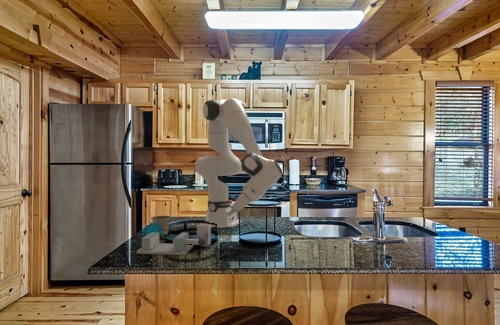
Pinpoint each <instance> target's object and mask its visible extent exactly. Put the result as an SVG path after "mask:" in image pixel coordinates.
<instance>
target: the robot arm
mask: <svg viewBox="0 0 500 325" xmlns="http://www.w3.org/2000/svg"><path fill="white" fill-rule="evenodd" d="M245 109H246V108H245V104H244V102H243V101H242V100H241V99H238V98H233V97H231V98H223V99H222V98H221V99H208V100H206V101H205V102H204V103H203V106H202V113H203V117H204V118H205V119H206V120H207V121H208V123H207V144H208V147H209V148H210V149H211V150H213V151H215V152H217V153H218V154H219V156H218V155H217V156H216V155H211V156H210V155H209V156H208V155H206V156H202V157H198V158H197V160H196V162H195V164H194V165H195V166H194V168H195V171H196V173H197V174H198V175H200V177H202V179H204V181H205V183H206V185H207V192H208V200H207V210H206V217H205V222H206V221H207V222H209V223H215V224H217V228H216V229H221V228H223V229H225V228H233V227H235V226H237V225H239V224H240V223H242V220H240V219H238V212H240V211H242V210H243V209H244V208H245V207H247V206H248V205H249V204H250V203H253V202H258V201H259V200H260V199H261V198H262V197H263V196H264V195H265V194H266V192H267V191H268V189H270V188H272V187H273V186H274V185H275V184H276V183H277V182H278V181H279V180H280V178H281V177H282V175H283V170H282V167H281V166H280V164H279V163H278V162H277V161H276V160H275V159H268V158H266V157H264V156H263V153H262V152H261V149H260V146H259V144H258V142H257V140H256V137H255V135H254V132H253V129H252V125H251V123H250V119H249V117H248V114H247V111H246V110H245ZM229 133H230V134H231V136H233V138H234V139H236V140H237V141H238V142H239V143H240V144H241V145H242V146H243V148H244V149H245V151H246V153H247V154H245V155H243V158H242V159H240V158H239V157H238V156H236V155H235V154H234V152H233V151H232V150H231V147H230V142H229ZM241 170H243V172H244V173H246V175H249V176H250V178H249V180H247V182H246V183H245V184H243V186H242V191H241V193H240V195H239V196H238V197H237V198H236V200H235V201H234V202H233V200H232V199H231V200H230V199H229V186H228V185H227V184H226V183H224V182H223V181H220V180H219V179H218V176H219V177H220V176H221V177H223V176H224V177H225V176H226V177H227V176H228V177H230V176H235V175H239V174H240V172H241ZM231 205H232V206H231ZM239 220H240V223H239ZM206 224H207V223H206ZM213 227H215V225H211V229H212V228H213Z"/></svg>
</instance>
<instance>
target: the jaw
mask: <svg viewBox="0 0 500 325" xmlns="http://www.w3.org/2000/svg"><path fill="white" fill-rule="evenodd" d="M205 243H206V241H205V239H204V238H200V239H197V238H190V234H189V232H180V233H179V234H178V235H177V236H175V238H173V240H172V244H173V249H174V251H182V250H183V249H184V248H185V247H186V246H187V245H188V244H192V245H193V246H195V245H196V246H197V245H200V246H203V245H205Z"/></svg>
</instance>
